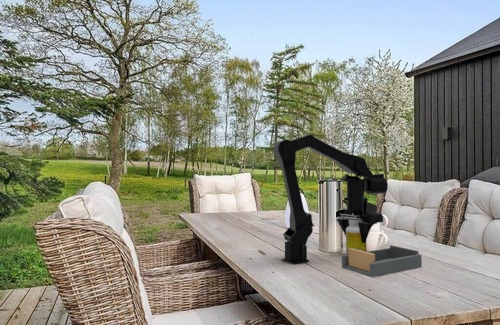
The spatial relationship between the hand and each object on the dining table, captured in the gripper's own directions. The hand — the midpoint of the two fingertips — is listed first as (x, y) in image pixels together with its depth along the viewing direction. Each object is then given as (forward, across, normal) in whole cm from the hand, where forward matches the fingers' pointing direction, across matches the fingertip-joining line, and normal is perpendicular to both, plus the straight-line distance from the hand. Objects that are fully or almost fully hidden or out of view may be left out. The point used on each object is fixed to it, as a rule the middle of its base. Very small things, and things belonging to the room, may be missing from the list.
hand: (356, 241), depth 131 cm
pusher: (+5, -13, +11) cm, 18 cm away
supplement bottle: (+6, 0, 0) cm, 6 cm away
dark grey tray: (+6, -13, +2) cm, 14 cm away
